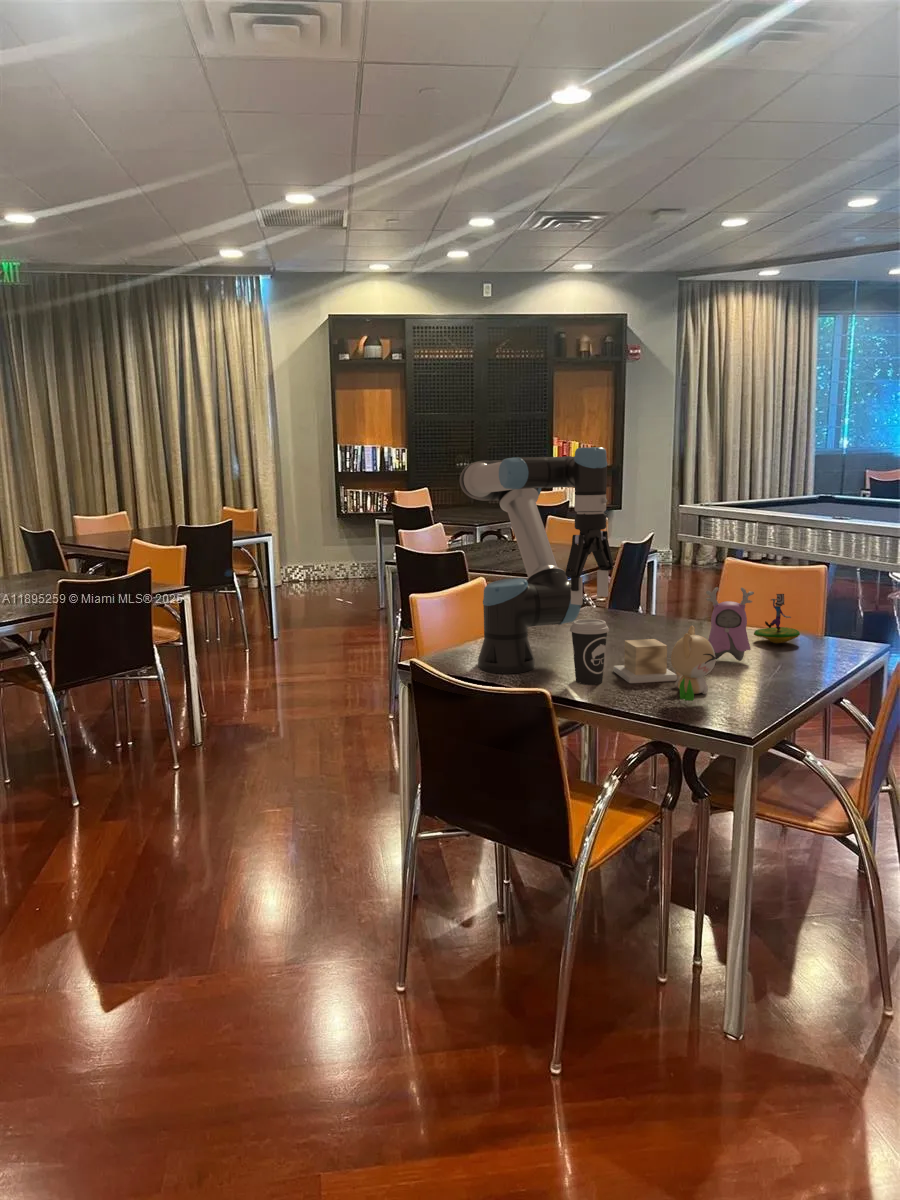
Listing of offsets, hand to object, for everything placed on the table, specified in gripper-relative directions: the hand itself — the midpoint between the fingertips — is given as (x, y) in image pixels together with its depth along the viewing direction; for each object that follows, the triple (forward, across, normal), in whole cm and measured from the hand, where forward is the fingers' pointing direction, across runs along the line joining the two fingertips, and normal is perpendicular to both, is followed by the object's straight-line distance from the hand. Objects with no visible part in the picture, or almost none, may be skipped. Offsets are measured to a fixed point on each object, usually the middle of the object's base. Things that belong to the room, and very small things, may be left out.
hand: (589, 600), depth 199 cm
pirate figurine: (+21, +67, -26) cm, 75 cm away
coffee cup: (+20, 0, 0) cm, 21 cm away
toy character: (+20, +39, -21) cm, 49 cm away
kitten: (+21, +3, -25) cm, 32 cm away
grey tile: (+20, +12, -9) cm, 25 cm away
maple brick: (+19, +12, -9) cm, 24 cm away
